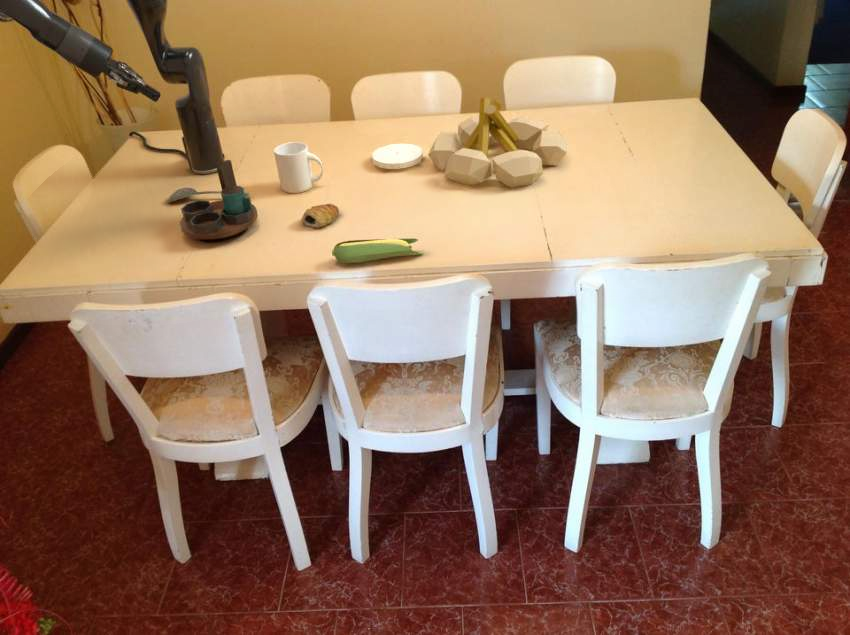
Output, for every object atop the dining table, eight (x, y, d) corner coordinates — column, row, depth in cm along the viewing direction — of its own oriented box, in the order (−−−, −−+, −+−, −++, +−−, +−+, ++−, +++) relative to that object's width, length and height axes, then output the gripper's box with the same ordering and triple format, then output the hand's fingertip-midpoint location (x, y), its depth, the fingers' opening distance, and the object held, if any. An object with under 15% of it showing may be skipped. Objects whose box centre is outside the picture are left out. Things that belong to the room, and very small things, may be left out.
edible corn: (334, 257, 161) (331, 238, 159) (424, 248, 162) (423, 229, 159) (333, 269, 157) (330, 250, 154) (426, 260, 157) (425, 241, 155)
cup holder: (237, 241, 165) (226, 196, 159) (166, 236, 170) (153, 192, 163) (272, 204, 180) (263, 161, 174) (206, 200, 185) (195, 158, 178)
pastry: (325, 208, 181) (323, 194, 179) (346, 214, 178) (344, 200, 176) (300, 224, 175) (297, 210, 173) (321, 231, 172) (318, 216, 169)
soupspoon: (175, 195, 195) (165, 208, 190) (171, 184, 193) (161, 196, 188) (253, 191, 192) (246, 204, 187) (250, 180, 190) (242, 192, 185)
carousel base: (182, 236, 174) (180, 229, 173) (220, 213, 183) (218, 206, 182) (223, 247, 169) (221, 239, 167) (260, 222, 178) (258, 215, 176)
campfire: (479, 131, 217) (477, 72, 207) (584, 150, 199) (588, 88, 189) (408, 175, 194) (402, 112, 184) (520, 201, 177) (520, 134, 167)
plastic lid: (413, 174, 195) (412, 165, 193) (365, 170, 199) (363, 161, 197) (430, 153, 205) (429, 145, 204) (383, 150, 209) (382, 142, 208)
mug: (321, 194, 188) (315, 154, 182) (277, 194, 190) (269, 155, 184) (330, 179, 195) (324, 141, 189) (287, 180, 197) (279, 142, 191)
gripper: (91, 43, 150) (168, 92, 160) (94, 29, 161) (166, 76, 171) (72, 73, 152) (150, 120, 162) (77, 57, 163) (149, 102, 172)
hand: (158, 97), depth 166 cm, fingers closed
